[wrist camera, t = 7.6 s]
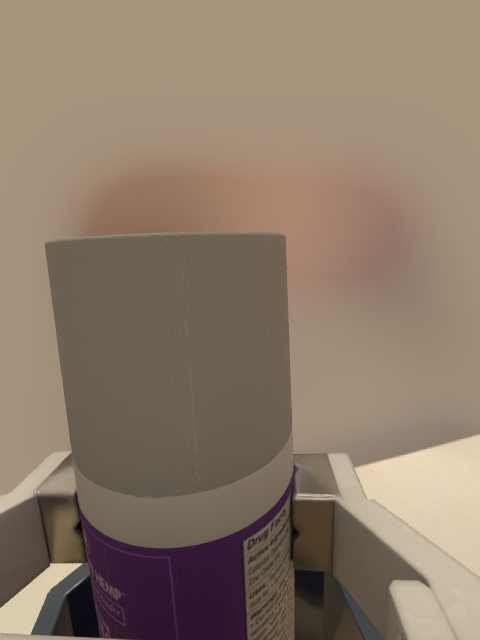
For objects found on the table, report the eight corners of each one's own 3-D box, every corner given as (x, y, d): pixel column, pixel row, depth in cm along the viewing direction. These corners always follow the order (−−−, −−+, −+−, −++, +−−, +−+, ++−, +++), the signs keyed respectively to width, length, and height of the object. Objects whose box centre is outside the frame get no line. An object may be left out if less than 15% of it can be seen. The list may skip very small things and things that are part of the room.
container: (91, 837, 8) (-31, 244, 5) (190, 641, 13) (154, 244, 10) (261, 1002, 7) (224, 224, 3) (311, 707, 11) (316, 235, 8)
